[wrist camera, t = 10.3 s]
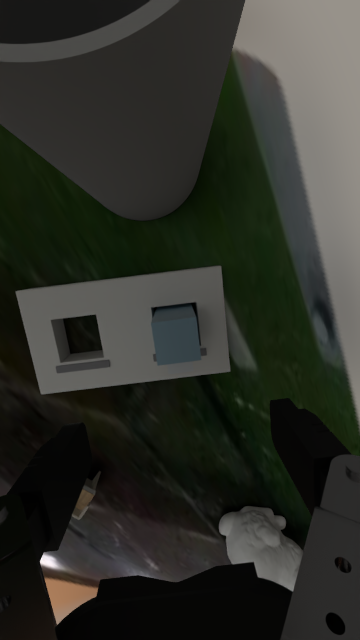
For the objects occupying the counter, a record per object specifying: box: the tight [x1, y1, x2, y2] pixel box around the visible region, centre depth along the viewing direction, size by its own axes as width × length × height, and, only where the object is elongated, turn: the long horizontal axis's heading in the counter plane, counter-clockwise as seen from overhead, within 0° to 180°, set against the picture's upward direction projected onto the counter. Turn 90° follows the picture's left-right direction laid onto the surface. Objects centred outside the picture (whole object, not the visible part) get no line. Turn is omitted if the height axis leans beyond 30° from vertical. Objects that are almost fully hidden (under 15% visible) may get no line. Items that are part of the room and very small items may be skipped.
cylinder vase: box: [0, 0, 245, 221], centre depth 17 cm, size 12×12×25 cm
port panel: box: [16, 266, 230, 394], centre depth 31 cm, size 12×22×3 cm, turn 97°
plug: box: [151, 303, 201, 374], centre depth 29 cm, size 5×4×9 cm
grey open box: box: [72, 471, 101, 520], centre depth 33 cm, size 4×7×8 cm, turn 56°
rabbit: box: [219, 506, 303, 592], centre depth 34 cm, size 12×9×12 cm
